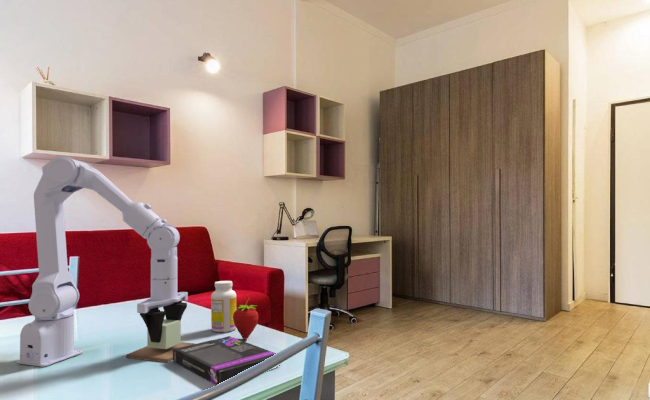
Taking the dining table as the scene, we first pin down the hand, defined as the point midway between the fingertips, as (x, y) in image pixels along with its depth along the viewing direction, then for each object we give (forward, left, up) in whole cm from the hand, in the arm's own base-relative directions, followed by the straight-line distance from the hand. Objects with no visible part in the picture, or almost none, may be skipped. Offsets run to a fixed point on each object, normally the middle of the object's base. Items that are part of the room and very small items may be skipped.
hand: (164, 338), depth 95 cm
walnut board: (0, 0, -3) cm, 3 cm away
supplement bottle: (+20, -3, -3) cm, 20 cm away
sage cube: (0, 0, -1) cm, 1 cm away
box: (-3, -18, -4) cm, 18 cm away
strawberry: (+14, -13, -3) cm, 19 cm away
